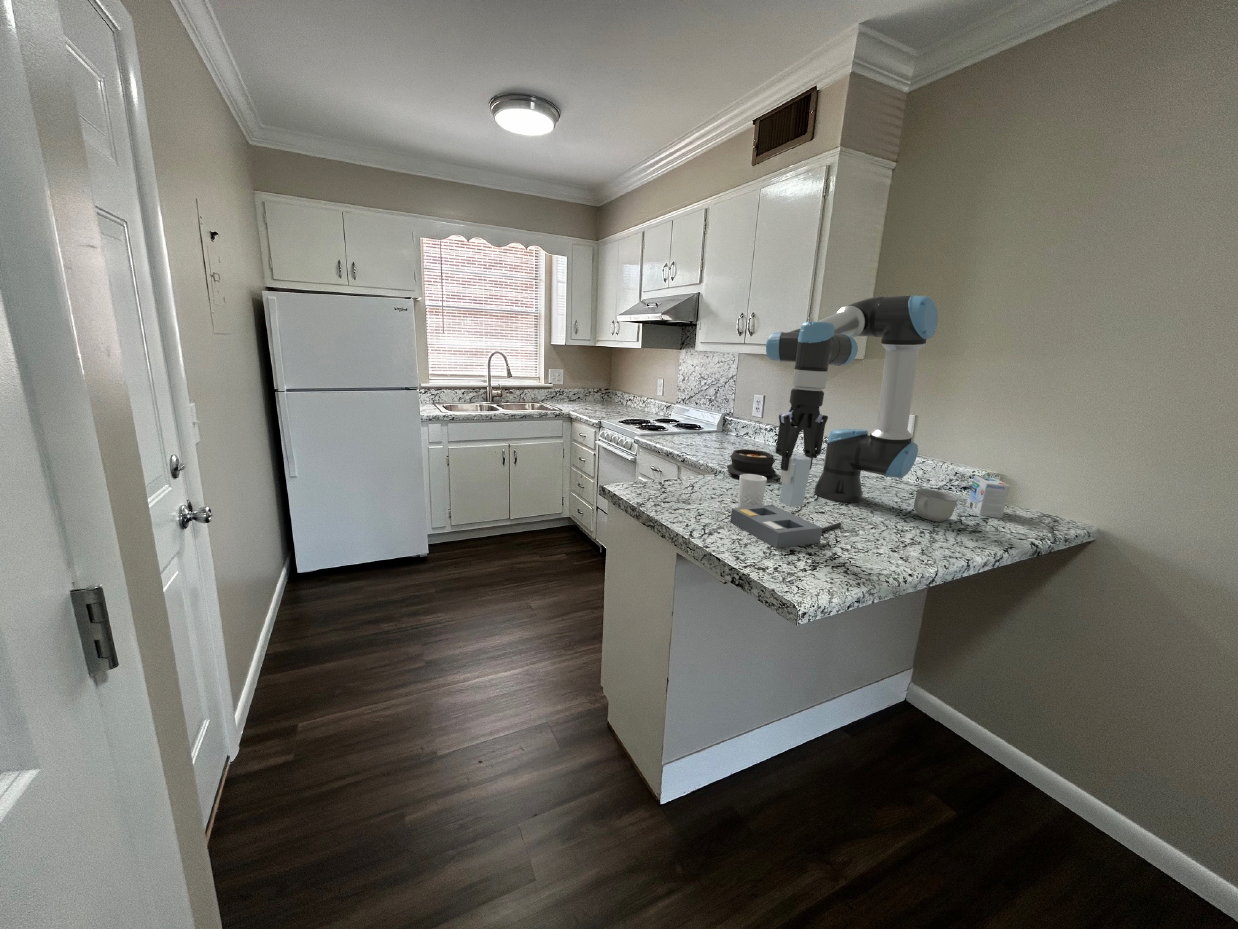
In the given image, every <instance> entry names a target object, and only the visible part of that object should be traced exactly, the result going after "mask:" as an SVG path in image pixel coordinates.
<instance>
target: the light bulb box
mask: <svg viewBox="0 0 1238 929" xmlns="http://www.w3.org/2000/svg"><path fill="white" fill-rule="evenodd" d="M1010 488H1011V485H1010V484H1007V483H1006V482H1004V481H1001V480H1000V479H998V478H996V477H988V476H987V477H986V476H977V475H973V478H972V483H971V486H970V490H969V491H970V492H969V495H968V500H967V505H966V506H967V508H968V509H970V510H971V511H973V512H974V513H975V514H976V515H978V516H980V515H981V517H988V516H990V517H989V518H998V519H1003V515H1004V511H1005V508H1006V505H1007V504H1006V503H1007V500H1008V495H1009V492H1010Z"/></svg>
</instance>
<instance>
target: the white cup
mask: <svg viewBox="0 0 1238 929" xmlns="http://www.w3.org/2000/svg"><path fill="white" fill-rule="evenodd" d="M738 480H739V482H738V494H737V495H738V496H737V499H738V504H737V508H742V507H753V506H763V502H764V497H765V492H766V486H767V481H768V479H767V476H766V477H763V476H760V475H755V474H742V475H740V476H739V479H738Z"/></svg>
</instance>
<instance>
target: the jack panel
mask: <svg viewBox="0 0 1238 929" xmlns="http://www.w3.org/2000/svg"><path fill="white" fill-rule="evenodd" d="M729 523H731V524H733V525H735V526H736V527H738V528H739V529H742V530H743V531H746V532H747V533H749V534H751V535H753V536H754V537H756V538H757V539H758V540H759V539H760V540H762V541H763V542H764V543H767V544H768V545H770V546H771V547H773V548H775V549H781V548H788V547H796V546H803V545H805V546H806V545H811V544H813V545H814V544H819V543H820V544H821V537H822V533H823V532H822V528H823V527H821V526H820V525H818V524H815V523H813V522H811V521H808V520H807V519H804V518H802V517H800V516H797V515H795V514H794V513H791V512H789V511H787V510H784V509H783V508H780V507H778V506H776V505H774V504H767V505H762V506H753V507H742V508H738V507H734V508H733V507H731V512H730V521H729Z"/></svg>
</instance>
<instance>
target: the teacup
mask: <svg viewBox="0 0 1238 929" xmlns="http://www.w3.org/2000/svg"><path fill="white" fill-rule="evenodd" d="M958 501H959V499H958V497H956V496H955V495H952V494H951V493H947V492H944V491H941V490H937V489H936V490H935V489H931V488H930V489H929V488H917V490H916V495H915V497H914V503H913V509H914V511H915V512H916V513H917V515H918V517H921V518H923V519H925V520H927V521H931V522H941V523H942V522H943V521H946V520H949V519H950V518H952V516H953V514H954V512H955V509H956V507H957V506H956V505H957V502H958Z"/></svg>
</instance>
